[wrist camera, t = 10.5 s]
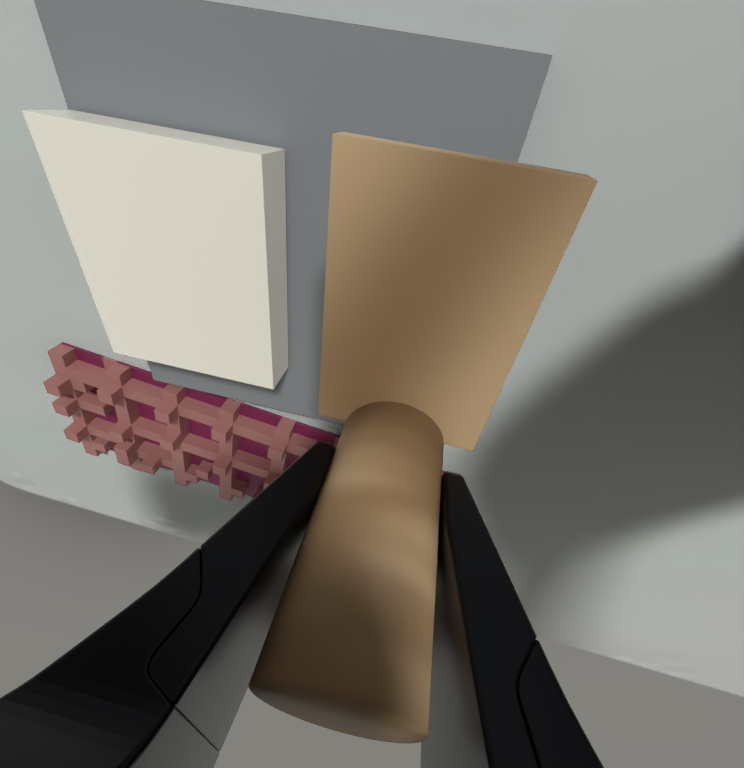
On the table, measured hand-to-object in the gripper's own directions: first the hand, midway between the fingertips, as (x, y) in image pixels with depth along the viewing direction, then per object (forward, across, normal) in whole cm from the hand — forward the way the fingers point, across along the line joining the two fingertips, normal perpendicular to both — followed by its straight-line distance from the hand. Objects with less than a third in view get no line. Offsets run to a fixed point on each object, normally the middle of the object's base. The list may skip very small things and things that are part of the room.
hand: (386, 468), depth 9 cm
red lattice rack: (+6, +7, +8) cm, 13 cm away
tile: (+4, +4, -2) cm, 6 cm away
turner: (+1, 0, -2) cm, 3 cm away
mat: (+6, +5, -2) cm, 7 cm away
